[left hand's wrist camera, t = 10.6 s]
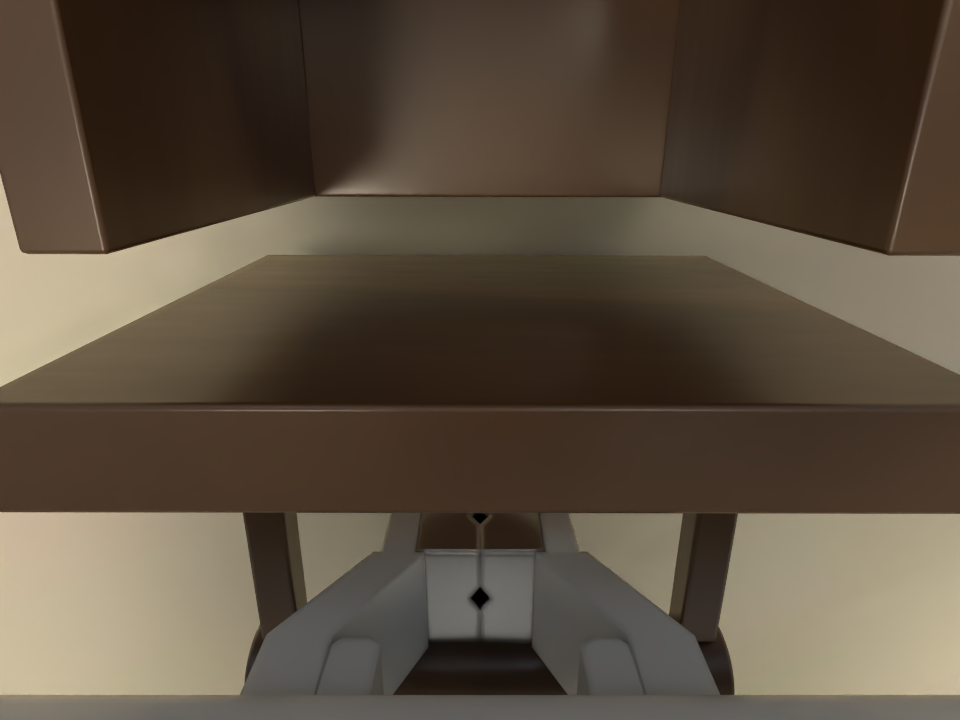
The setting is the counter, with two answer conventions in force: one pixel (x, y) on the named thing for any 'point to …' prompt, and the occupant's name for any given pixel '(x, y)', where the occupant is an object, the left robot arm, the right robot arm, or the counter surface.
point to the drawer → (483, 271)
